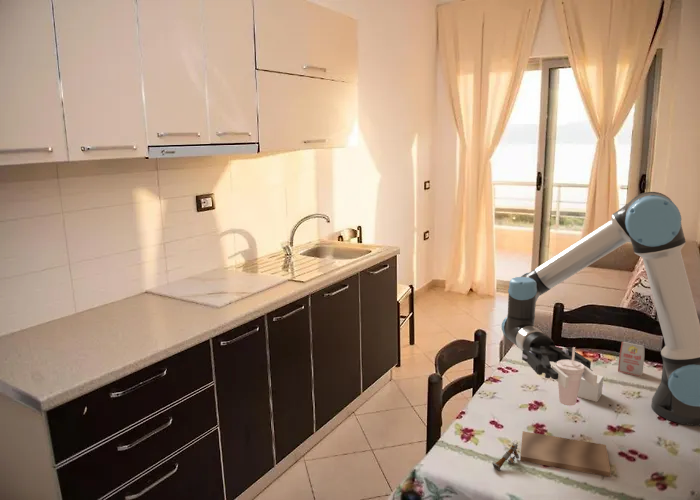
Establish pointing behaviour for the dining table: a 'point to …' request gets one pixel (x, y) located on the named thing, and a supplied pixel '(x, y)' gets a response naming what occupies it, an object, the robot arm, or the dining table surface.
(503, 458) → the wooden post with brackets
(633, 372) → the small printed carton
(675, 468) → the dining table surface
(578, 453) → the walnut board
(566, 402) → the smoothie
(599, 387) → the off-white cube
